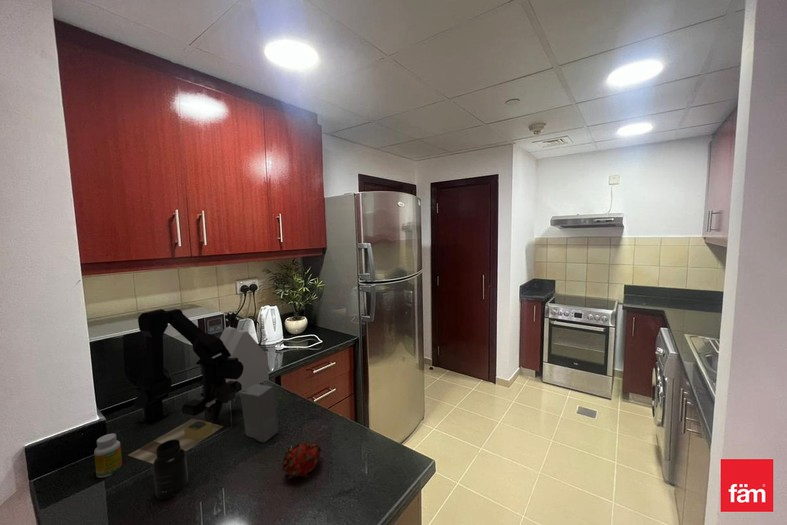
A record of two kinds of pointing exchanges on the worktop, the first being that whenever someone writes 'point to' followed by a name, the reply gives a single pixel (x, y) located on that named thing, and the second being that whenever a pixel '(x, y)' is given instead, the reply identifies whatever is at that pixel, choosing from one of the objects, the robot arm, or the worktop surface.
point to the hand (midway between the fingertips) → (215, 420)
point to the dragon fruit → (301, 459)
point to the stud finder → (198, 430)
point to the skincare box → (259, 412)
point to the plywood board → (149, 450)
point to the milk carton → (246, 357)
